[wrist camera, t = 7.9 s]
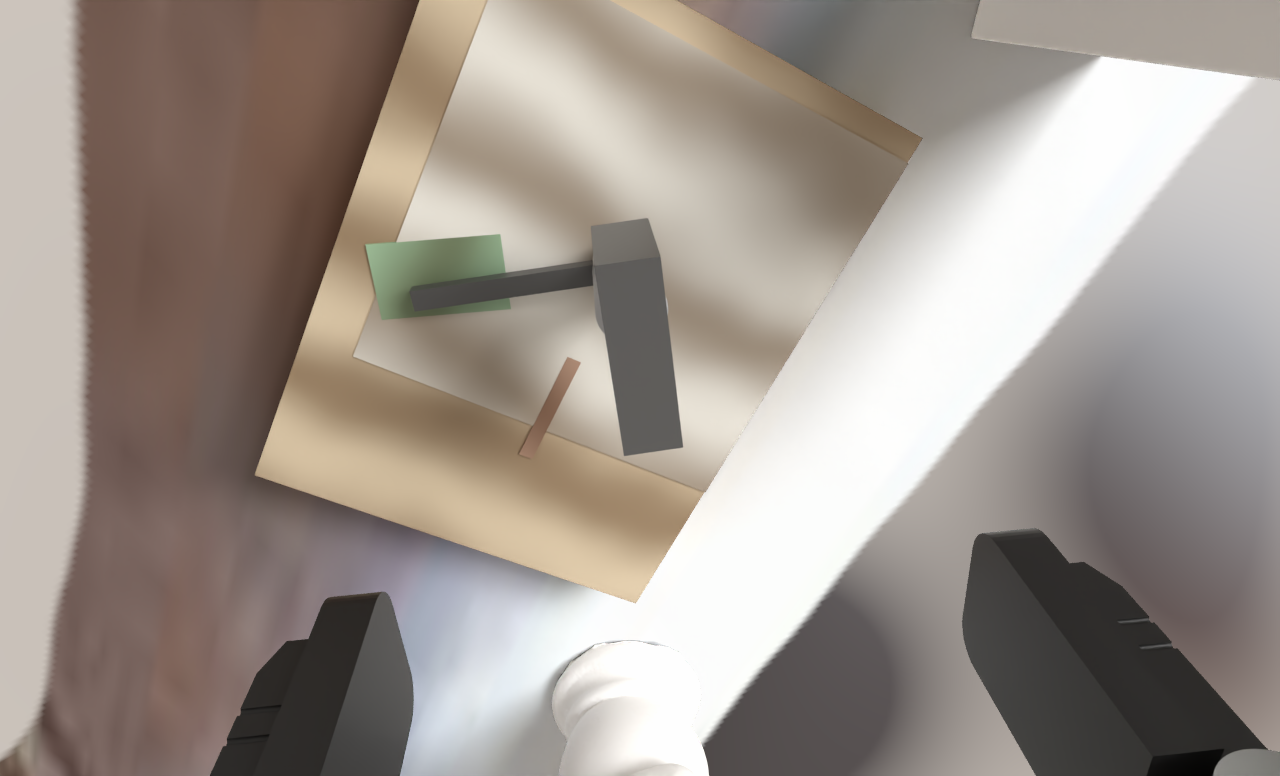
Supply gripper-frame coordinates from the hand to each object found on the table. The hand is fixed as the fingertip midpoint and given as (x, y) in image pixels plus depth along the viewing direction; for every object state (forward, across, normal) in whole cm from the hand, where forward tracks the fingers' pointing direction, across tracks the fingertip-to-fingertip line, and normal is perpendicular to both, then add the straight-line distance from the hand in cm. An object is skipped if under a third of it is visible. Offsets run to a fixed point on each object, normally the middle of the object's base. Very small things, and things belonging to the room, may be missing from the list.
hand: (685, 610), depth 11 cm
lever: (+21, +3, +2) cm, 22 cm away
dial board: (+26, +2, +4) cm, 26 cm away
